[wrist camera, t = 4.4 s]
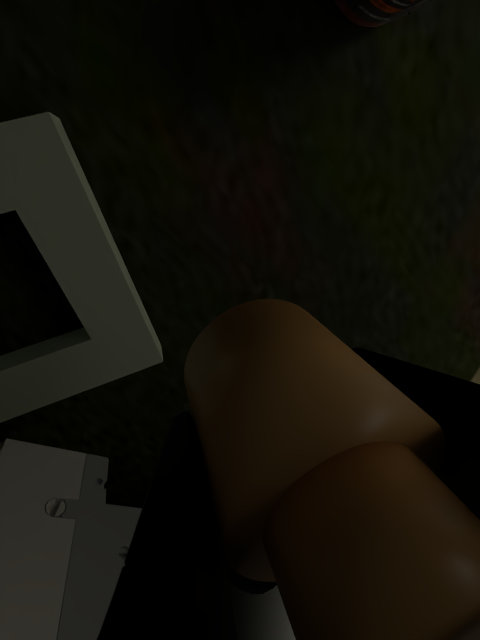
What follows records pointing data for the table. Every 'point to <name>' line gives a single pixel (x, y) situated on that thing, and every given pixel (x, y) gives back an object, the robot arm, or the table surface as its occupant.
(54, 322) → the table surface
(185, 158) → the table surface
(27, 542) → the circuit breaker
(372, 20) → the supplement bottle
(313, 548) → the tan stepped cylinder
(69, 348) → the collar
